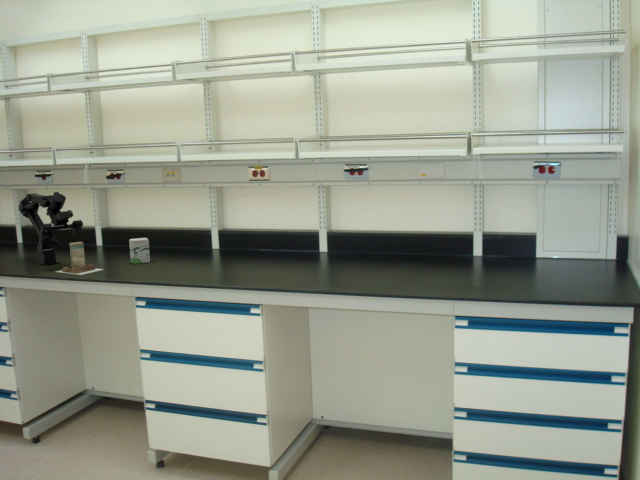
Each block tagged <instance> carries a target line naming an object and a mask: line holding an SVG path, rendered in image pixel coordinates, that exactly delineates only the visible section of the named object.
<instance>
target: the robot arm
mask: <svg viewBox="0 0 640 480" xmlns="http://www.w3.org/2000/svg"><path fill="white" fill-rule="evenodd" d="M66 200H67V198H66V196H65V195H64V194H62V193H59V191H55V192H53V194H49V195H43V194H39V193H35V192H34V193H28V194H26V195H25V197H23V198H22V199H21V200H20V202H19V205H18V212H19V213H20V214H21V215H22V216H23V217H25V218H27V219H28V220H29V222H30V224H31V225H32V227H33V228H34V230H35V232H36V234H37V235H38V237H39V240H38V244H37V247H36V249H37V253H40V254H41V258H42V259H41V261H42V262H40V263H39V265H46V266H48V265H54V264H59V263H60V261H58V260H57V255H56V251H59V249H60V239H59V237H58V235H57V234H56V231H63V230H64V231H65V230H71V232H72V235H73V236H74V239H75V240H76V241H77V242H79V241H80V235H79V234H80V232H81V230H82V228H83V225H84V222H83V220H82V219H78V220H73V221H72V222H71V223H70V224H68V223H69V219H71V218H73V217H74V213H73V211H72V209H70V210H67V211H65V210H64V211H61V210H62V209H63V208H64V205H65V203H66ZM40 207H41V208H42V209H46V216H49V219H50V223H44V222H43V220H42V218H41V216H40V215H39V214H38V212H39V208H40Z"/></svg>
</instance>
